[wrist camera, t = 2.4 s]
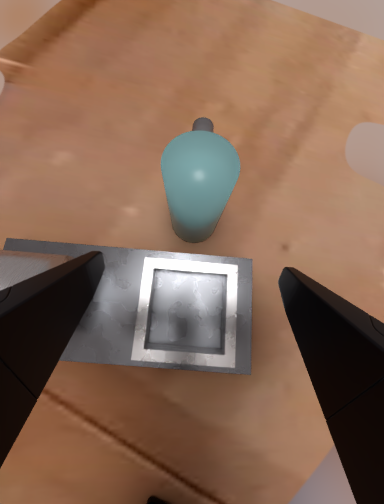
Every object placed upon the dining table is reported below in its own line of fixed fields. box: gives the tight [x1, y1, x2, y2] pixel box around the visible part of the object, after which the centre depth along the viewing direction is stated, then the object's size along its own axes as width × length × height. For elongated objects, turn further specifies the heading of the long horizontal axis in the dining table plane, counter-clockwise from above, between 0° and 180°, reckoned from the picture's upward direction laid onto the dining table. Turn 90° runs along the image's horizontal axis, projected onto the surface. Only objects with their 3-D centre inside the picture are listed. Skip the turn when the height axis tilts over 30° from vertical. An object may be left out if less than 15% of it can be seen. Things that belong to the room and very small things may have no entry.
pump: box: [161, 117, 240, 243], centre depth 19 cm, size 8×6×11 cm
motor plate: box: [0, 238, 252, 375], centre depth 16 cm, size 28×12×11 cm, turn 85°
